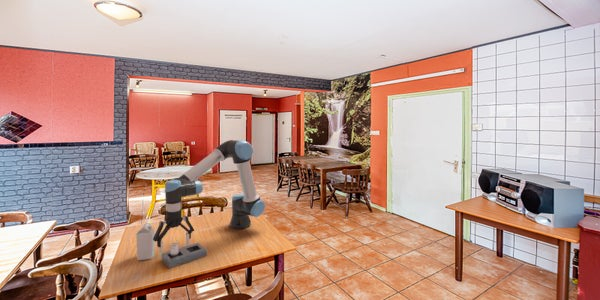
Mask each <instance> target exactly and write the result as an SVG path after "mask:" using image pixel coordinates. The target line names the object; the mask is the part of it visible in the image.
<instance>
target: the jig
mask: <svg viewBox="0 0 600 300" xmlns="http://www.w3.org/2000/svg"><path fill="white" fill-rule="evenodd" d="M160 254H161V253H160ZM207 256H208V249H207V248H205V247H204V246H203V245H201V243H199V242H196V243H193V244H189V246H188V245H186V246H182V247H179V256H178V257H174V258H170V250H169V251H166V252H163V253H162V254H161V261H162V262H163V263H164V264H165V265H166V266H167V268H168V269H172V268H175V267H178V266H181V265H184V264H187V263H190V262H192V261H193V262H194V261H195V260H198V259H200V258H201V259H202V258H204V257H207Z"/></svg>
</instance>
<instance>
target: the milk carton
mask: <svg viewBox="0 0 600 300" xmlns="http://www.w3.org/2000/svg"><path fill="white" fill-rule="evenodd" d="M154 236H155V227H154V226H153V225H151V224H150V223H148V221H145V223H144V224H143V225H142V227H140V229H139V230H138V231H137V232H136V237H135V238H136V257H137V258H136V260H137V261H145V260H153V258H154V256H155V254H156V242H155V241H154V240H153V238H154Z"/></svg>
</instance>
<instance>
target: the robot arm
mask: <svg viewBox="0 0 600 300" xmlns="http://www.w3.org/2000/svg"><path fill="white" fill-rule="evenodd" d="M253 148H254V147H253V146H252V145H251V144H250V142H249V141H245V140H233V139H230V140H227V141H224V142H223V143H220V144H219V145H218V146H217V147H215V148H213V151H212V152H211V153H209V155H207V156H206V157H204V158H203V159H202V160H200V161H199V162H198V163H196V164H195V165H193V166H192V167H191V168H189V169H188V170H187V171H186V172H184V173H183V174H182V175H180V176H179V177H173V178H171V180H166V182H165V185H164V194H165V195H164V197H165V211H166V212H165V221H164V220H163V221H162V220H160V221H159V223H158V224H159V225H158V227H157V229H156V230H155V232H154V234H155V236H154V238H153V240H154V241H155V243H156V244H157V245H156V246H157V248H159V253H160V254H162V253H164V252H163V251H164V248H163V247H164V246H163V239H164V237H165V235H167V233H168V231H169V230H170V229H174V228H178V227H181V228H182V229H183V230H184V231H186V233H185V244H186V246H189V245H190V239H191V238H192V233H193V232H195V228H194V227H193V225H192V224H191V222H190V221H189V216H187V215H184V216H183V214H182V213H183V212H182V207H183V206H182V198H185V197H190V196H196V195H199V194H201V193H202V192H203V188H204V187H203V183H202V181H200V180H198V179H199V178H201V177H203V175H204V174H206V173H207V172H208V171H210V170H211V169H213V167H215V166H216V165H217V164H219V163H220V162H223V161H225V160H226V159H229V158H231V159H232V161H233V162H232V163H233V164H234V165H235V166H236V168H237V173H238V176H239V180H240V186H241V188H242V189H241V190H242V192H243V193H238V194H234V195H233V196H232V200H231V209H232V210H231V213H232V214H231V218H230V222H229V228H231V229H233V228H234V229H235V230H243V229H242V228H244V229H247V228H246V227H248V226H250V225H251V226H252V222H251V218H250V217H254V218H256V217H257V218H258V217H260V216H261V215H262V214H263V213H264V211H265V207H266V204H265V202H264V201H263V200H262V199H261V196H260V194H259V193H257V189H256V185H255V180H254V176H253V171H252V167H251V160H252V157H253V155H254V154H253V153H254V149H253ZM183 221H184V222H185V223H186V225H187V227H188V228H187V227H186V225H185V224H183V223H182V222H183ZM251 226H250V227H251ZM163 227H164V229H163ZM248 228H249V227H248ZM234 229H233V230H234Z"/></svg>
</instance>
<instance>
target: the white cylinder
mask: <svg viewBox="0 0 600 300" xmlns="http://www.w3.org/2000/svg"><path fill="white" fill-rule="evenodd" d="M179 248H180V244H179V242H178V243H177V242H174V243H171V244H169V251H170V258H174V257H178V256H179Z"/></svg>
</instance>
